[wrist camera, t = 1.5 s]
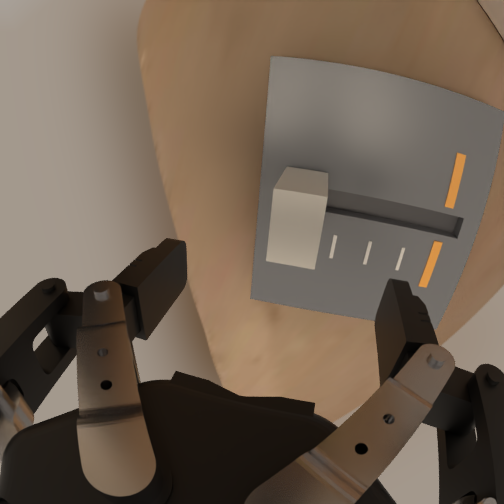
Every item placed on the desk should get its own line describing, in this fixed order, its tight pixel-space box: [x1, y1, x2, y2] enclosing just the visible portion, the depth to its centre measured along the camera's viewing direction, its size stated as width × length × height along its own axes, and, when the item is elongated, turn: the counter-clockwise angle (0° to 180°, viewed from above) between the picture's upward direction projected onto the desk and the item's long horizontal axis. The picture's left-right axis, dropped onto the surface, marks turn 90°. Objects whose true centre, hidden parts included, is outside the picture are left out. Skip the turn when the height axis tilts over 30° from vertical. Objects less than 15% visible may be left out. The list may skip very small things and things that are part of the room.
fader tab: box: [266, 167, 328, 270], centre depth 18 cm, size 4×3×6 cm, turn 176°
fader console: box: [250, 56, 504, 329], centre depth 21 cm, size 18×16×3 cm
